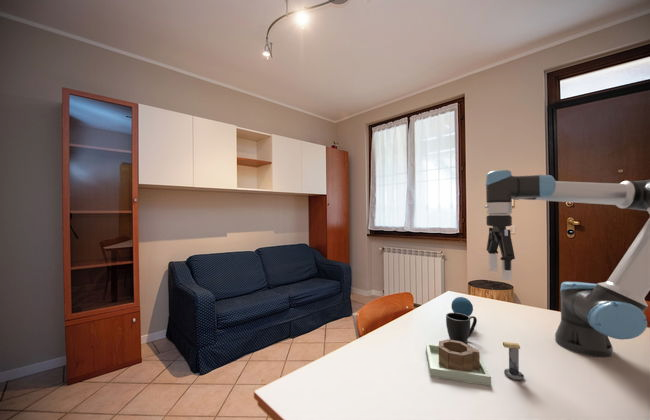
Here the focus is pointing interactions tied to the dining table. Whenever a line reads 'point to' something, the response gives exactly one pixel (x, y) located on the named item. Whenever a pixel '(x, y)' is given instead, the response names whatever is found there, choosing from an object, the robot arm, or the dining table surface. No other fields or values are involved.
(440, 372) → the tray
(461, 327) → the mug
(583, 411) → the dining table surface
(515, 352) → the door handle
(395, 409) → the dining table surface
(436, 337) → the dining table surface
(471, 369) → the ring
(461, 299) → the light bulb
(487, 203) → the robot arm
